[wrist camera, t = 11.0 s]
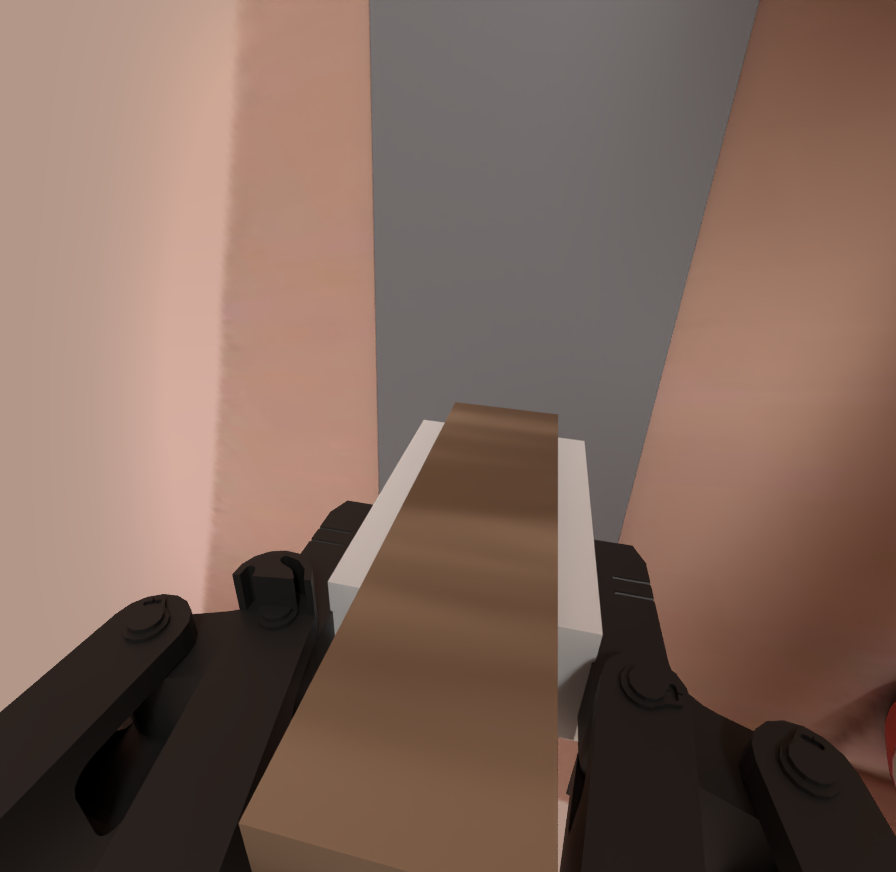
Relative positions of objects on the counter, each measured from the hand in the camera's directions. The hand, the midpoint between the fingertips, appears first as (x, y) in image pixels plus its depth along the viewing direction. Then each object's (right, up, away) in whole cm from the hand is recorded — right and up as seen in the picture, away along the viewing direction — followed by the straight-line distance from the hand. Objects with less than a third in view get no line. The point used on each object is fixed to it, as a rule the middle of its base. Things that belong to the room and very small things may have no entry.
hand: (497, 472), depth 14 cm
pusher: (0, -2, +2) cm, 3 cm away
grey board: (+1, +2, +10) cm, 10 cm away
